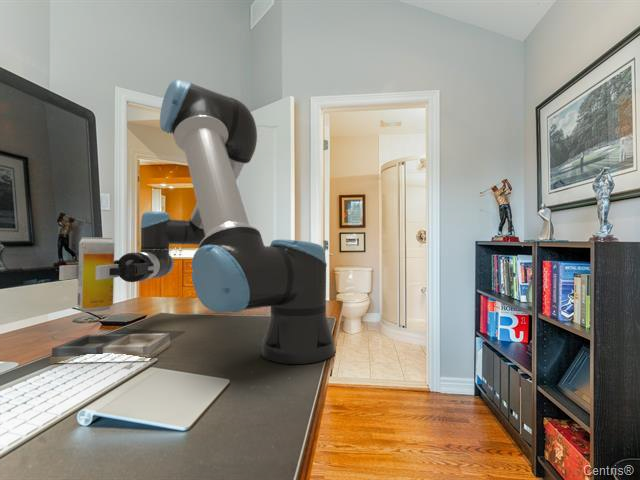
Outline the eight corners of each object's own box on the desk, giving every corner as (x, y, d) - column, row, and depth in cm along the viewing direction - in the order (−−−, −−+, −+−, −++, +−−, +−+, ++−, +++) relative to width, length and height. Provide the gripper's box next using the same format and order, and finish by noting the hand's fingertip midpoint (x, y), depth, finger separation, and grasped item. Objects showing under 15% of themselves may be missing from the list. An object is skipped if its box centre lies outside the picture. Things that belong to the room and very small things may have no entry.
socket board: (170, 345, 73) (170, 332, 73) (148, 361, 62) (148, 347, 62) (87, 347, 72) (87, 334, 72) (49, 364, 61) (50, 349, 61)
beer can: (118, 308, 68) (120, 238, 69) (85, 313, 63) (87, 237, 64) (104, 306, 72) (106, 238, 72) (72, 310, 66) (74, 237, 67)
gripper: (175, 280, 86) (130, 292, 63) (100, 281, 85) (27, 292, 62) (175, 252, 86) (130, 253, 63) (101, 252, 85) (28, 253, 62)
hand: (79, 272), depth 62 cm, fingers closed on beer can, 6 cm apart
